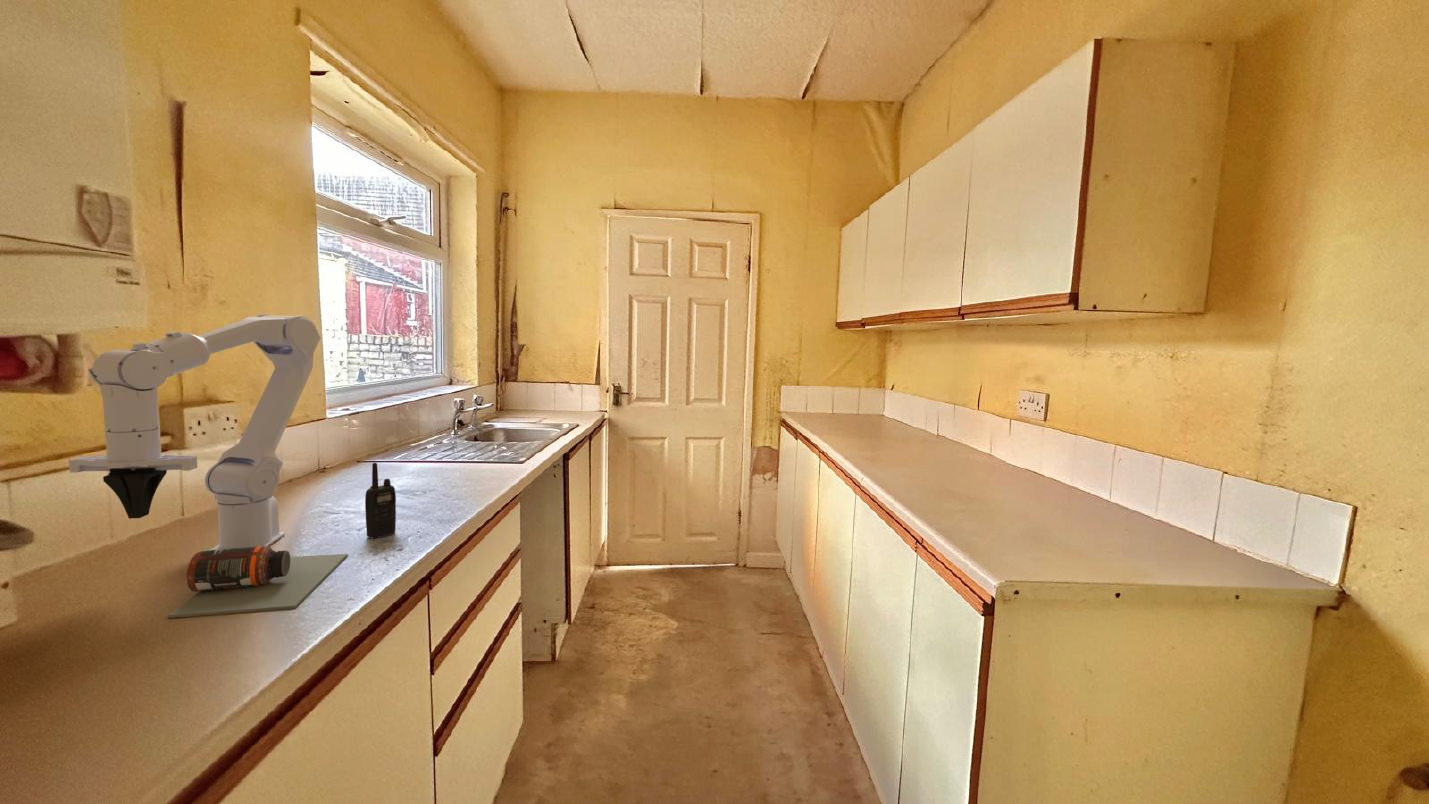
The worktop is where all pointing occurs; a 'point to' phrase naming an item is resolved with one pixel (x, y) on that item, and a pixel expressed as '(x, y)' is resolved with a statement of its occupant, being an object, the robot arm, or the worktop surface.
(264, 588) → the mat
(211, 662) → the worktop surface
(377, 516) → the two-way radio
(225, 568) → the supplement bottle
